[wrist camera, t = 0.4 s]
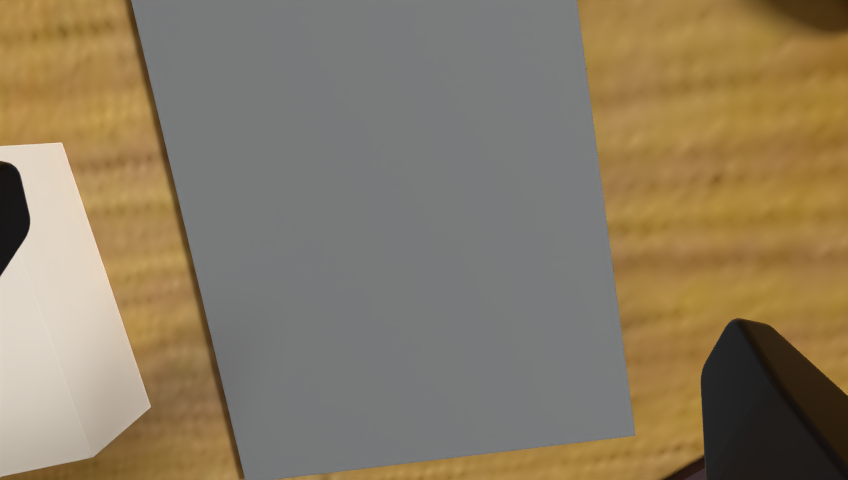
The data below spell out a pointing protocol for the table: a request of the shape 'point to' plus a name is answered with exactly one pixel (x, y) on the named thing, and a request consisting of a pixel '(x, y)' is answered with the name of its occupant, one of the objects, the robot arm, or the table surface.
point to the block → (60, 330)
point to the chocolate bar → (691, 472)
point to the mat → (392, 225)
